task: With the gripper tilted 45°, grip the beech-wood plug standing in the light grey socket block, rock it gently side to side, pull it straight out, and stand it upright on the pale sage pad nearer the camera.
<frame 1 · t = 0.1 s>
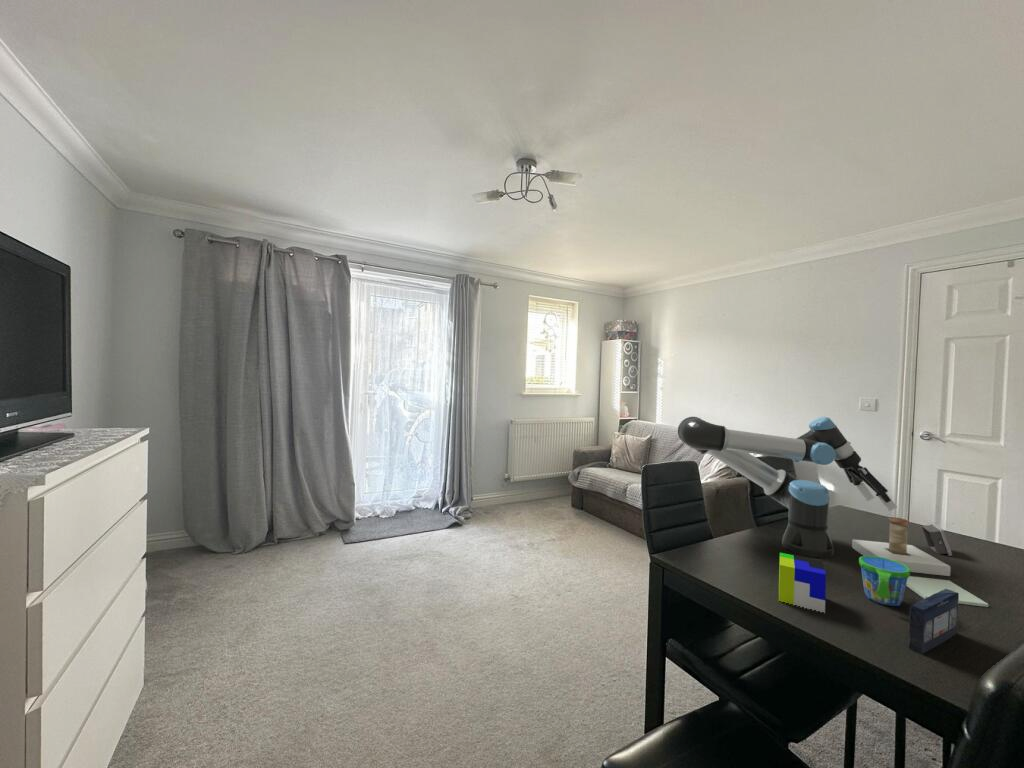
hand: (881, 504, 157), 15 cm above the table, tool tilted 35°, fingers open, 13 cm apart
electrical switch: (937, 551, 153), on the table
plug: (898, 540, 143), in the socket block
snack cup: (882, 601, 116), on the table
puzzle toy: (800, 600, 116), on the table
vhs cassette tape: (933, 642, 98), on the table
socket block: (897, 560, 143), on the table
pad: (937, 590, 122), on the table
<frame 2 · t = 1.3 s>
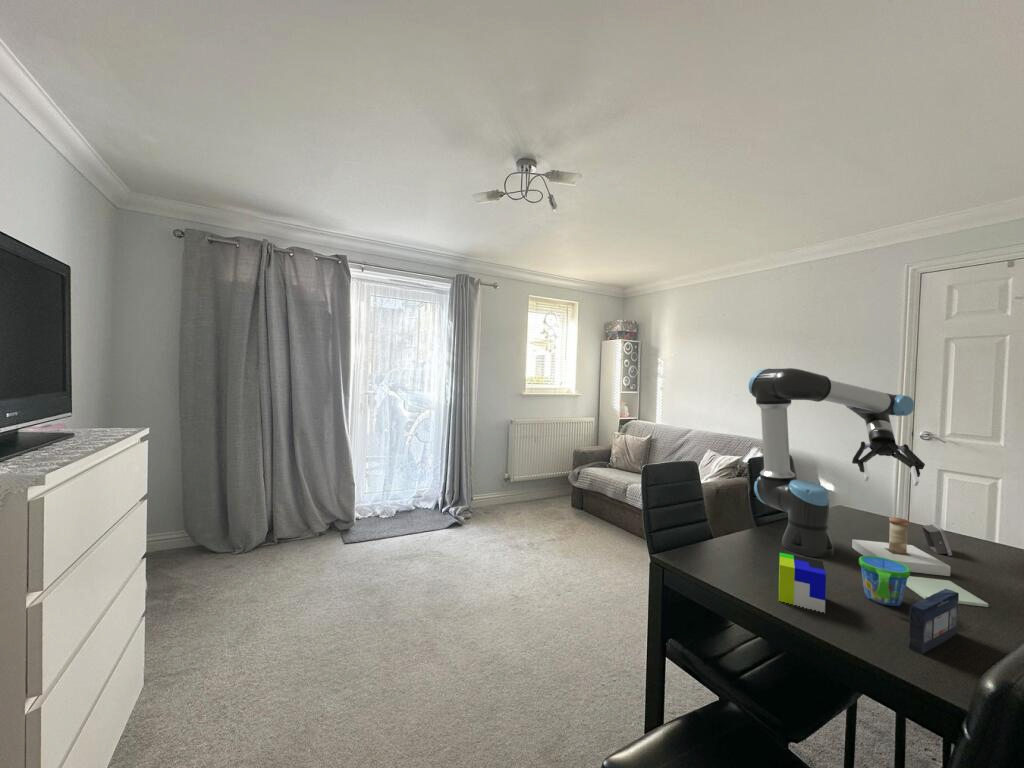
hand: (891, 481, 152), 25 cm above the table, tool tilted 45°, fingers open, 13 cm apart
nothing on the table moved.
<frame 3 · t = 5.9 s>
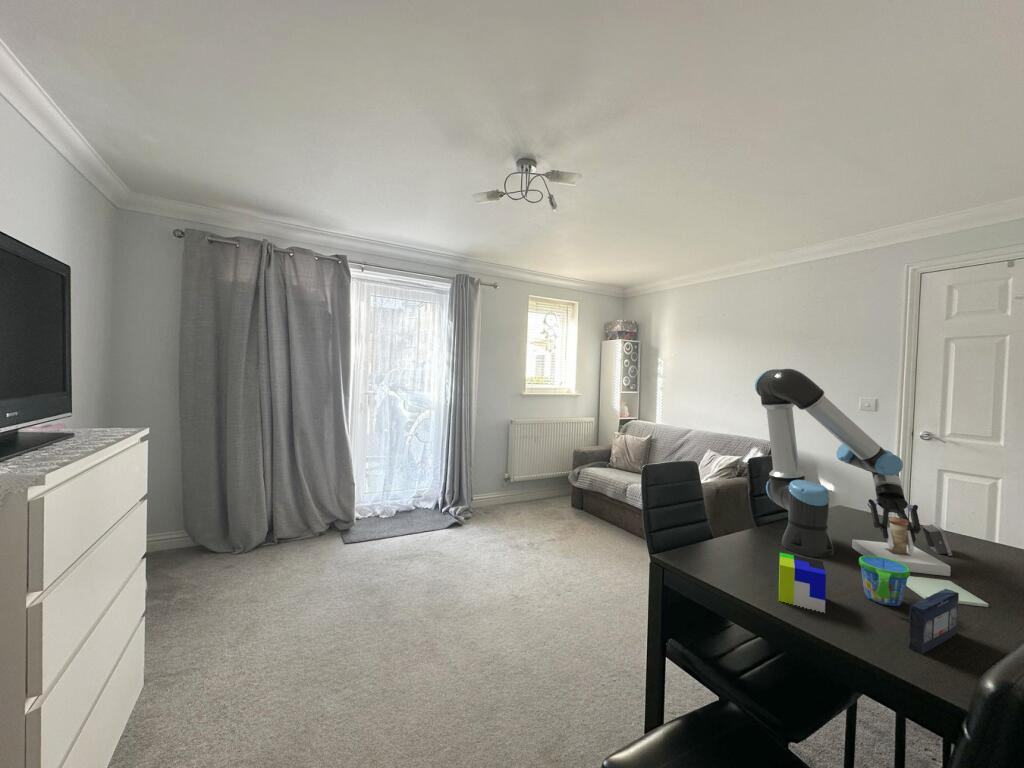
hand: (901, 549, 140), 5 cm above the table, tool tilted 45°, fingers closed on plug, 4 cm apart
plug: (898, 540, 143), in the socket block, touching gripper
everything else where it was.
when the fingers open (8 cm above the table, at t = 12.7 s): plug stays where it is, resting on pad.
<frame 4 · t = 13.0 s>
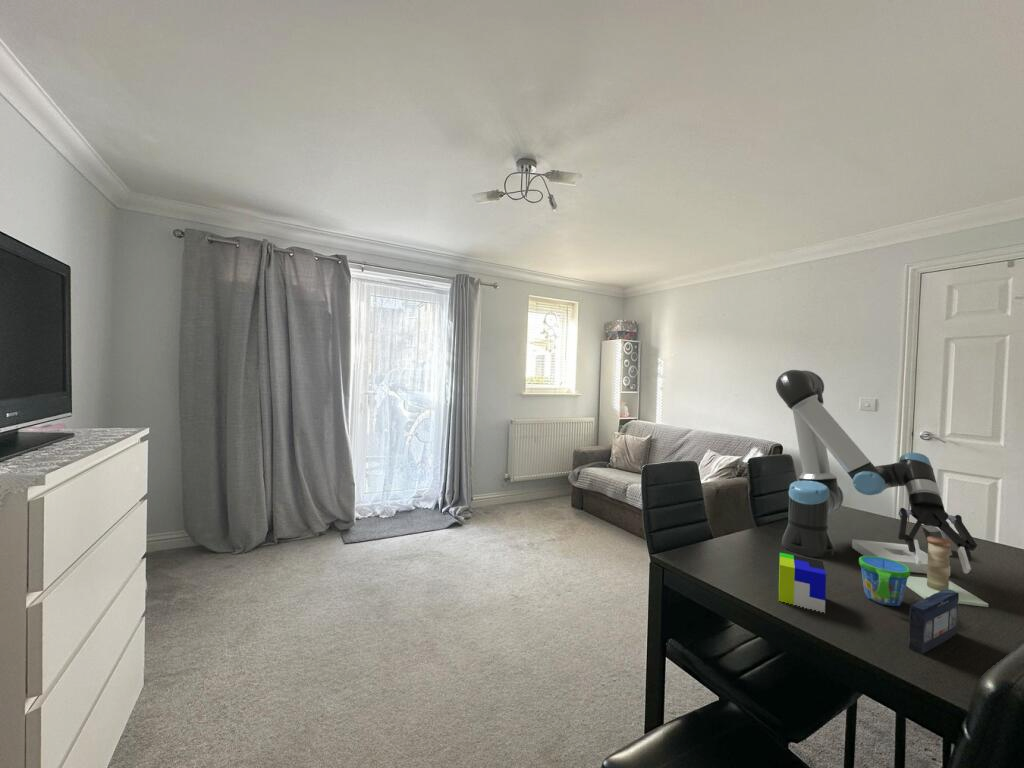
hand: (943, 566, 120), 8 cm above the table, tool tilted 45°, fingers open, 9 cm apart
plug: (938, 563, 122), on the pad, point 8 cm above the table
everything else where it was.
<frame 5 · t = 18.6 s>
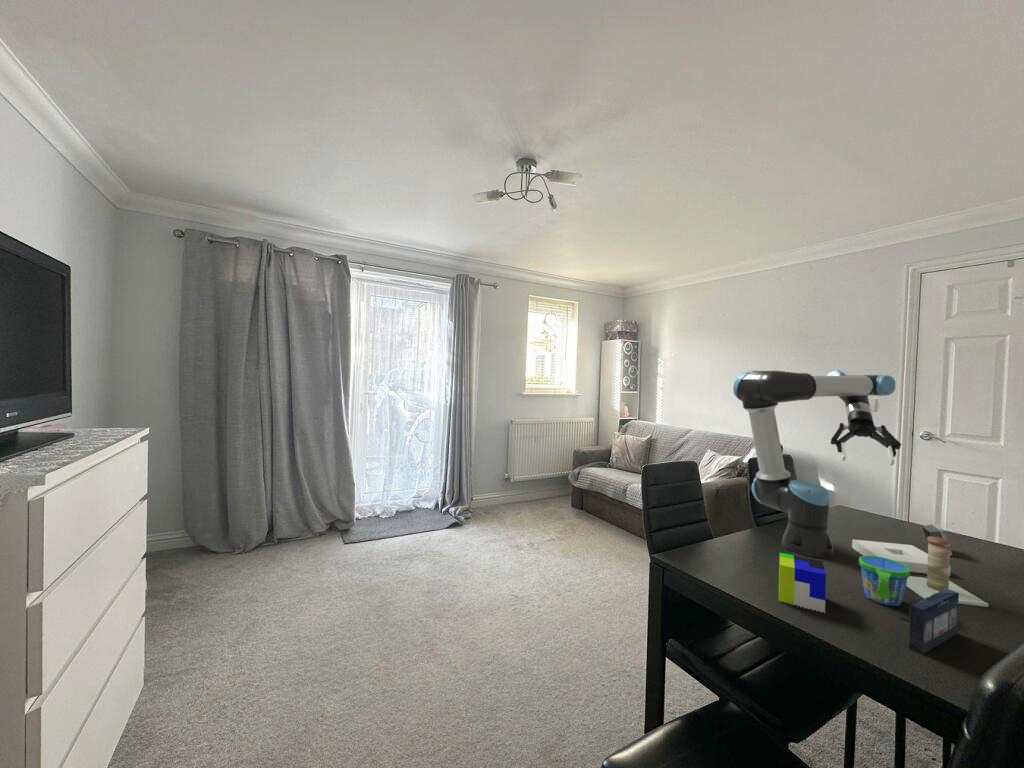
hand: (867, 460, 153), 32 cm above the table, tool tilted 45°, fingers open, 13 cm apart
nothing on the table moved.
at the end: plug inside the target area on the pad (0.1 cm from its centre), point 7.8 cm above the pad's base; plug tilted 1°; the gripper is holding nothing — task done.
